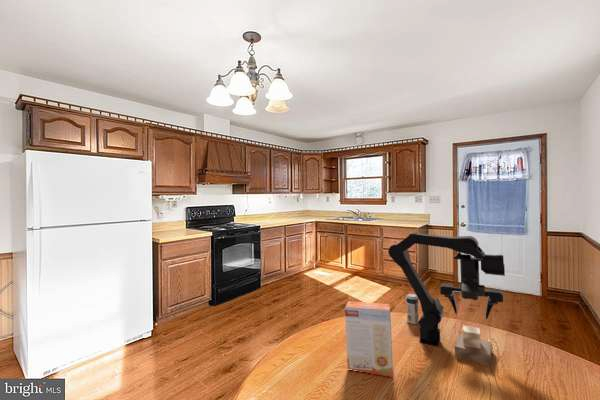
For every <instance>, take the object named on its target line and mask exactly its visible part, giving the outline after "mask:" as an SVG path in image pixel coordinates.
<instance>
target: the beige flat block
mask: <svg viewBox="0 0 600 400" xmlns="http://www.w3.org/2000/svg"><path fill="white" fill-rule="evenodd" d="M480 346H481V349H477V348H472V347H467V346H463V334H458V337H457V339H456V342H455V344H454V357H455V358H459V359H462V360H466V361H469V362H473V363H477V364H481V365H485V366H489V367H490V366H491V361H492V360H491V359H492V352H493V351H492V349H493V347H492V346H493V344H492V341H489V340H485V339H481V338H480Z"/></svg>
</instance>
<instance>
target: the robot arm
mask: <svg viewBox="0 0 600 400" xmlns="http://www.w3.org/2000/svg"><path fill="white" fill-rule="evenodd" d="M415 244H417V245H422V246H423V245H424V246H432V247H438V248H444V249H445V248H446V249H450V250H453V251H454V252H457V253H456V254H455V255H454V257H453V259H454V260H459V267H460V268H459V269H460V270H459V271H460V284H459V286H460V287H454V283H446V282H442V284H441V285H440V288H439V289H440V295H443V296H444V297H445V298H447V299H448V300H449V302H450V303H451V305H452V308H453V311H454V313H455V315H457V314H458V308H457V307H458V306H457V300H456V294H461V298H462V299H464V300H467V299H469V300H473V301H478V300H479V297H480V298H482V297H486V307H485V308H486V309H485V320H488V318H489V315H490V312H491V311H492V309H493V307H494V305H497V304H498V305H499V303H504V294H503V291H502V290H501V289H500V288H499V289H498V288H492V287H491V288H490V287H488V289H487V290H486V289H485V288H486V286H485V285H483V284H480V270H481V271H482V272H483V273H484V275H491V276H492V275H493V276H501V277H505V276H506V273H505V271H506V270H505V269H506V268H505V263H504V259H505V258H504V254H486V252H485V251H484V250H482V248H481V247H480V246H479V241H478V240H477V238H476V237H474V236H471V235H464V236H463V235H459V236H443V235H437V234H436V235H433V234H425V233H418V232H411V233H410V234H408V236H406V237H405V238H404V239H402V240H401V241H400V242H397V243H394V244H392V245H391V246H390V247H389V248H388V252H387V253H388V255H389V257H390V258H391V259H392V261H393V262H394V263H395V264H396V265H397V266H399V267H400V269H401V270H402V273H403V274H404V276H405V278H406V279H407V281H408V282H409V284H410V286H411V289H412V291H414V294H415V295H417V297H418V301H419V303H420V307H421V311H422V315H421V316H420V318H419V321H418V323H417V324H418V325H419V341H418V342H419V343H422V344H426V345H432V346H439V343H441V329H440V328H439V324H440V323H441V321H442V319H443V317H444V314H445V311H444V309H445V308H444V306H443V305H442V304H441V302H440V299H439V298H438V297H437V298H433V296H431V294H430V293H429V291H428V289H427V287H426V286H425V284H424V282H423V280H422V279H421V277H420V275H419V273H418V272H417V270H416V269H415V267H414V265H413V264H412V260H411V257H410V252H409V249H410V248H411V247H413V246H414V245H415ZM479 263H480V264H479Z"/></svg>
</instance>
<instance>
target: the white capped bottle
mask: <svg viewBox="0 0 600 400" xmlns="http://www.w3.org/2000/svg"><path fill="white" fill-rule="evenodd" d="M405 299H406V301H405V303H406V322H407V323H409V324H410V323H411V325H417V324H419V323H418V321H419V320H420V318H419V316H420V315H419V299H418V297H417V295H416V293H408V294H406V297H405Z"/></svg>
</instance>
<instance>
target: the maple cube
mask: <svg viewBox="0 0 600 400" xmlns="http://www.w3.org/2000/svg"><path fill="white" fill-rule="evenodd" d="M462 335H463V346H467V347H472V348H477V349H481V346H480V339H481V331H480V327H476V326H469V325H462Z"/></svg>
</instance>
